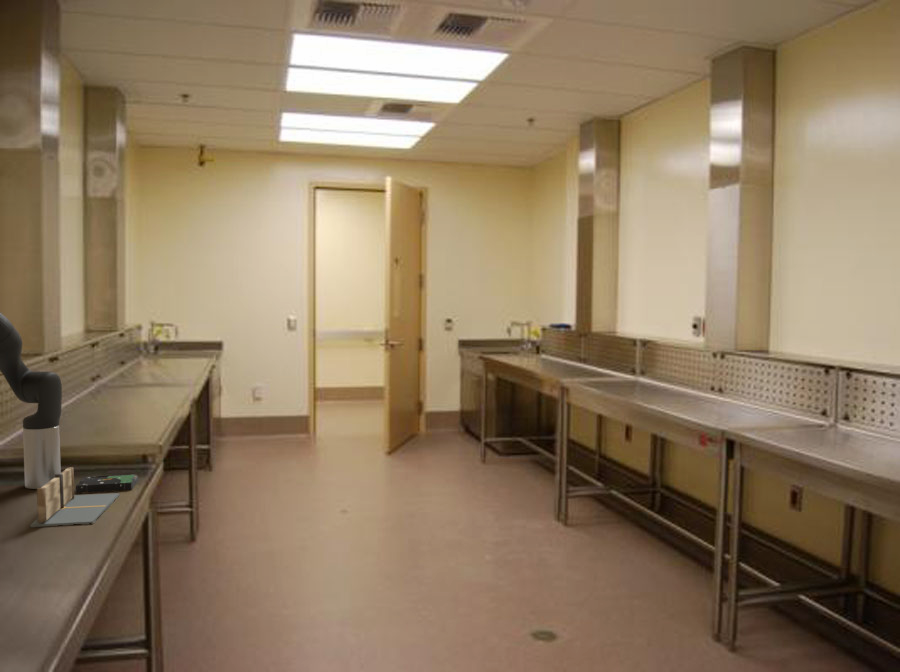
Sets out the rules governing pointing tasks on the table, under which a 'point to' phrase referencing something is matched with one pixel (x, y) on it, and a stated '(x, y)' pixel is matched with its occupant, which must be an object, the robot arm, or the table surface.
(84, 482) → the disk drive
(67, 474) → the fixed fence section
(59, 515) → the board
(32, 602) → the table surface
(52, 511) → the hinged fence panel
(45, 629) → the table surface
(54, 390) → the robot arm
